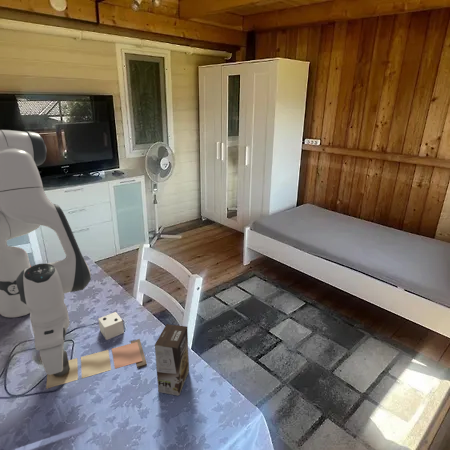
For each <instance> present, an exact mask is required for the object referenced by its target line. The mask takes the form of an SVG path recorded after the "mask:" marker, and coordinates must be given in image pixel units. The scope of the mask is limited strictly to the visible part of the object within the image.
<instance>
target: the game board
mask: <svg viewBox="0 0 450 450" xmlns="http://www.w3.org/2000/svg"><path fill="white" fill-rule="evenodd" d="M111 354H112V358H113V360H112V361H113V366H114V369H116V370H117V369H119V368H123V367H126V366H130V365H134V364H136V369H140V368H143V367H146V366H148V363H147V359H146V357H145V352H144V350H143V346H142V342H141V339H140V338H138V339H134V340H131V341H130V343H128V344H125V345H120V346H117V347H113V348H111ZM68 362H69V367H70V370H69V371H68V373H66V374H65V375H63V376H59V377H57V376H54V375H53V374H51V375H48V374H47V373H46V386H45V388H46V389H45V390H48V389H52V388H55V387H58V386H60V385H65V384H68V383H71V382H75V381H78V380H79V379H78V378H79V375H78V374H79V369H78V367H79V366H78V363H79V362H78V357H76V358H72V359H68ZM80 363H81V364H80V366H81V369H80V370H81V379H84V378H88V377H92V376H96V375H98V374H102V373H105V372H109V371H112V363H111V358H110V351H109V349H106V350H102V351H98V352H95V353H91V354H87V355H83V356H80Z"/></svg>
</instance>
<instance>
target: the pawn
mask: <svg viewBox="0 0 450 450" xmlns="http://www.w3.org/2000/svg"><path fill="white" fill-rule="evenodd" d="M68 360H69V358H68V353H67V351H66V350H64V349H63V370H62V371H61V372H59V373H55V374H53V375H54V376H57V377H59V376H63V375H65V374H66V373H68V371H69V370H70V367H69V362H68Z"/></svg>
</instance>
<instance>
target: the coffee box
mask: <svg viewBox="0 0 450 450" xmlns="http://www.w3.org/2000/svg"><path fill="white" fill-rule="evenodd" d="M188 335H189V333H188V326H185V325H176V324H169V323H167V324H165V326H164V328H163V330H162V331H161V333H160V335H159V337H158V338H157V340H156V341H155V343H154V350H155V351H154V353H155V354H154V355H155V366H156V367H155V368H156V377H157V379H156V380H157V392H158V393H163V394H167V395H173V396H177V397H178V396H180V395H181V392H182V390H183V388H184V385H185V382H186V380H187V377H188V375H189V372H190V364H189V363H190V359H189V336H188Z"/></svg>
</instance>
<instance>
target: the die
mask: <svg viewBox="0 0 450 450" xmlns="http://www.w3.org/2000/svg"><path fill="white" fill-rule="evenodd" d="M98 326H99V331H100V333H101V334H102V335H103V337H104V339H105V340H106V341H108V340H110V339H113V338H115V337H118V336H120V335H122V334H125V330H124V322H123V319H122V318H121V316H120V315H119V314H118V313H117V312H116V311H115V312H112V313H109V314H106V315H103V316H101V317H98Z"/></svg>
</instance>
